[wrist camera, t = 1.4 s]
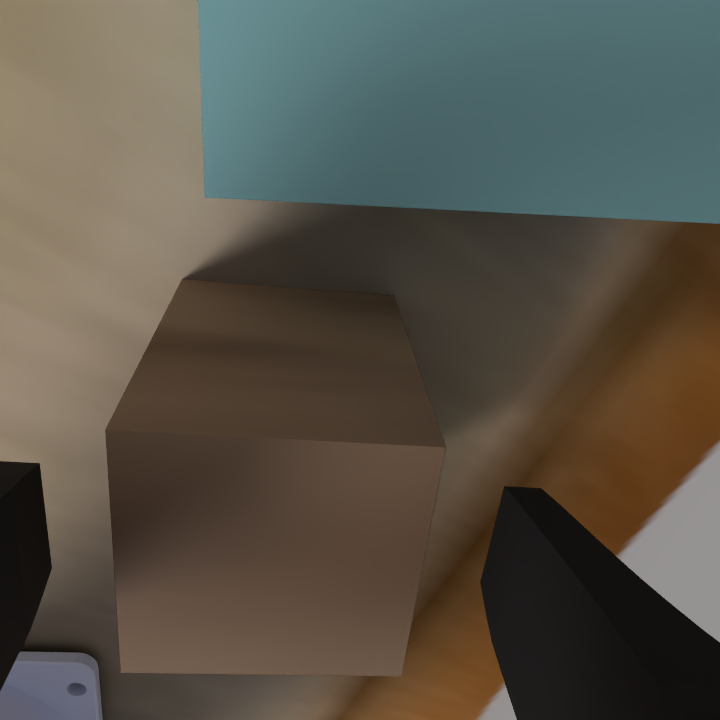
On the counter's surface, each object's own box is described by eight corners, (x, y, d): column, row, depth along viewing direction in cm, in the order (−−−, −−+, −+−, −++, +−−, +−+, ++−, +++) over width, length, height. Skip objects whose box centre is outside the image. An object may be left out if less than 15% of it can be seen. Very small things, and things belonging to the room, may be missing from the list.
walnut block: (369, 466, 16) (401, 676, 11) (183, 457, 16) (121, 672, 10) (393, 295, 14) (446, 447, 9) (182, 278, 14) (104, 429, 9)
